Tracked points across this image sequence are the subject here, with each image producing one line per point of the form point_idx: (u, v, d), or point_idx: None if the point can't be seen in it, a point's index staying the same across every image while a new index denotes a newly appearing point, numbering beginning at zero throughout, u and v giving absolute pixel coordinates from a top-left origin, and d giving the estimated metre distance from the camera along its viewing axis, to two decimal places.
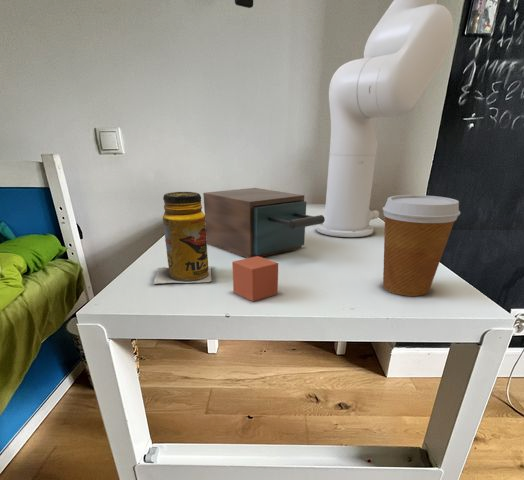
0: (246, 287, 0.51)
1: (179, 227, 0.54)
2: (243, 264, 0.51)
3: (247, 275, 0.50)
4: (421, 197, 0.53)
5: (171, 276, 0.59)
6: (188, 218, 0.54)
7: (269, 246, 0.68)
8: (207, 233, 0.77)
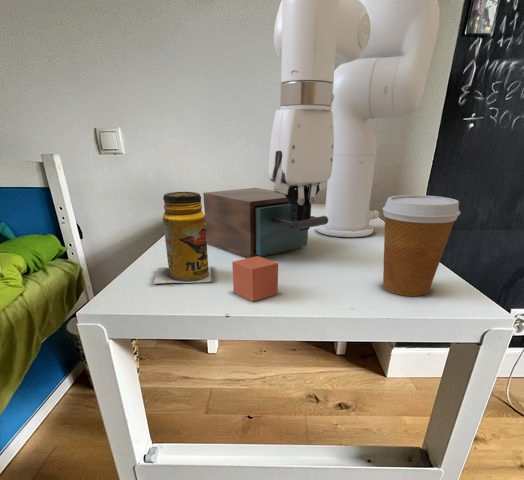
0: (246, 287, 0.51)
1: (179, 227, 0.54)
2: (243, 264, 0.51)
3: (247, 275, 0.50)
4: (421, 197, 0.53)
5: (171, 276, 0.59)
6: (188, 218, 0.53)
7: (272, 247, 0.68)
8: (207, 233, 0.77)
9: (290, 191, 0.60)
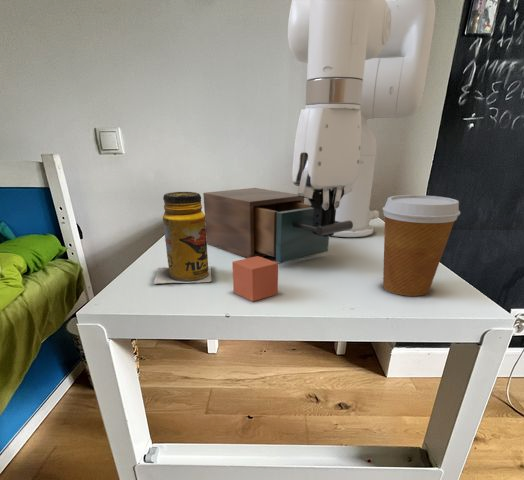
0: (246, 287, 0.51)
1: (179, 227, 0.54)
2: (243, 264, 0.51)
3: (247, 275, 0.50)
4: (421, 197, 0.53)
5: (171, 276, 0.59)
6: (188, 218, 0.53)
7: (292, 253, 0.64)
8: (207, 233, 0.77)
9: (315, 195, 0.56)
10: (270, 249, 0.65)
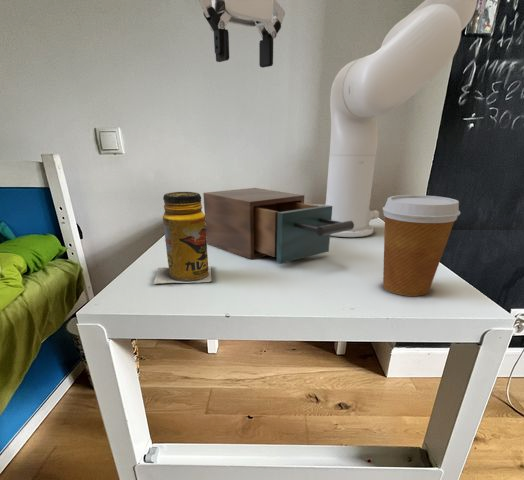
0: None
1: (179, 227, 0.54)
2: None
3: None
4: (421, 197, 0.53)
5: (171, 276, 0.59)
6: (188, 218, 0.54)
7: (293, 253, 0.64)
8: (207, 233, 0.77)
9: (209, 10, 0.61)
10: (271, 249, 0.65)
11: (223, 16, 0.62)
